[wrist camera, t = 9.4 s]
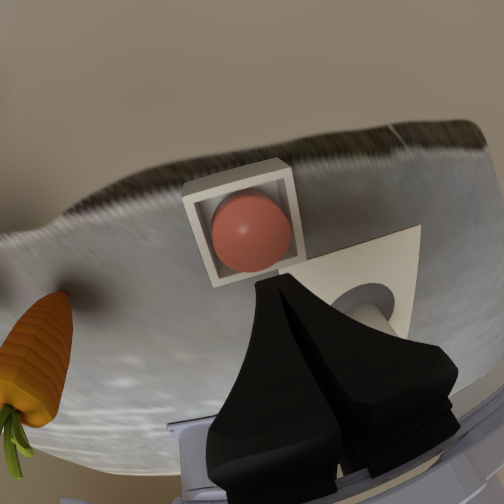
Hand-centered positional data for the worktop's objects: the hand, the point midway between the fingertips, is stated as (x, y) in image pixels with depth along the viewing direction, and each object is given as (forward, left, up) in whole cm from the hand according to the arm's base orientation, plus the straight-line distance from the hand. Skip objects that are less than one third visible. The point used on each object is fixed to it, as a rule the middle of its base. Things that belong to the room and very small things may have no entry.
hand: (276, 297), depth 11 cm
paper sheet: (-14, -8, -9) cm, 19 cm away
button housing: (0, 0, -9) cm, 9 cm away
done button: (0, 0, -7) cm, 7 cm away
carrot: (-2, +15, -10) cm, 18 cm away
